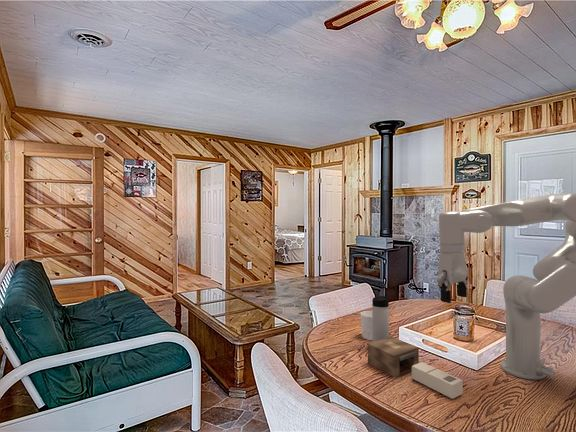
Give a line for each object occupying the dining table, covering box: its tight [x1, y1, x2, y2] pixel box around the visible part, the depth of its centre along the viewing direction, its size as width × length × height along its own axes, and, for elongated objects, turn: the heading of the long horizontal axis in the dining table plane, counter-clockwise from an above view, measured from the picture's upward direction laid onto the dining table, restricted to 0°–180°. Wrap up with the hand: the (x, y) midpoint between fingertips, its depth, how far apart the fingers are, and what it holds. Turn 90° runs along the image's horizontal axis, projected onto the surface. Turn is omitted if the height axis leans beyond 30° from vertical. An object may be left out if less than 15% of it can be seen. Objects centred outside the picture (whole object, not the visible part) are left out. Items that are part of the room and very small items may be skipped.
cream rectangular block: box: [411, 362, 464, 399], centre depth 106 cm, size 14×5×4 cm, turn 31°
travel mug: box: [371, 295, 391, 342], centre depth 135 cm, size 6×7×20 cm
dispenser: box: [367, 335, 420, 378], centre depth 120 cm, size 13×12×7 cm
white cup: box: [360, 310, 372, 341], centre depth 146 cm, size 8×8×10 cm
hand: (454, 299), depth 116 cm, fingers open, 9 cm apart
